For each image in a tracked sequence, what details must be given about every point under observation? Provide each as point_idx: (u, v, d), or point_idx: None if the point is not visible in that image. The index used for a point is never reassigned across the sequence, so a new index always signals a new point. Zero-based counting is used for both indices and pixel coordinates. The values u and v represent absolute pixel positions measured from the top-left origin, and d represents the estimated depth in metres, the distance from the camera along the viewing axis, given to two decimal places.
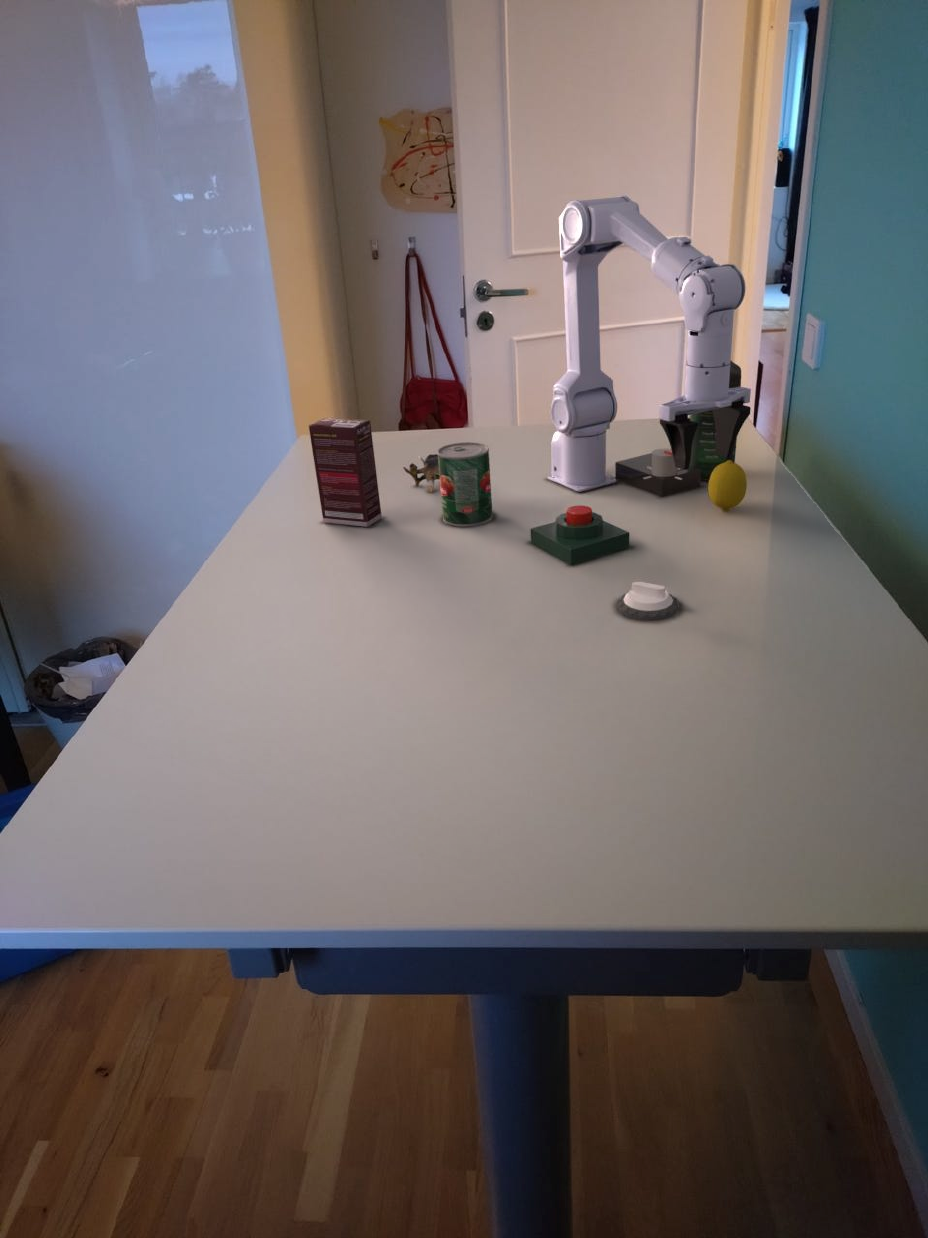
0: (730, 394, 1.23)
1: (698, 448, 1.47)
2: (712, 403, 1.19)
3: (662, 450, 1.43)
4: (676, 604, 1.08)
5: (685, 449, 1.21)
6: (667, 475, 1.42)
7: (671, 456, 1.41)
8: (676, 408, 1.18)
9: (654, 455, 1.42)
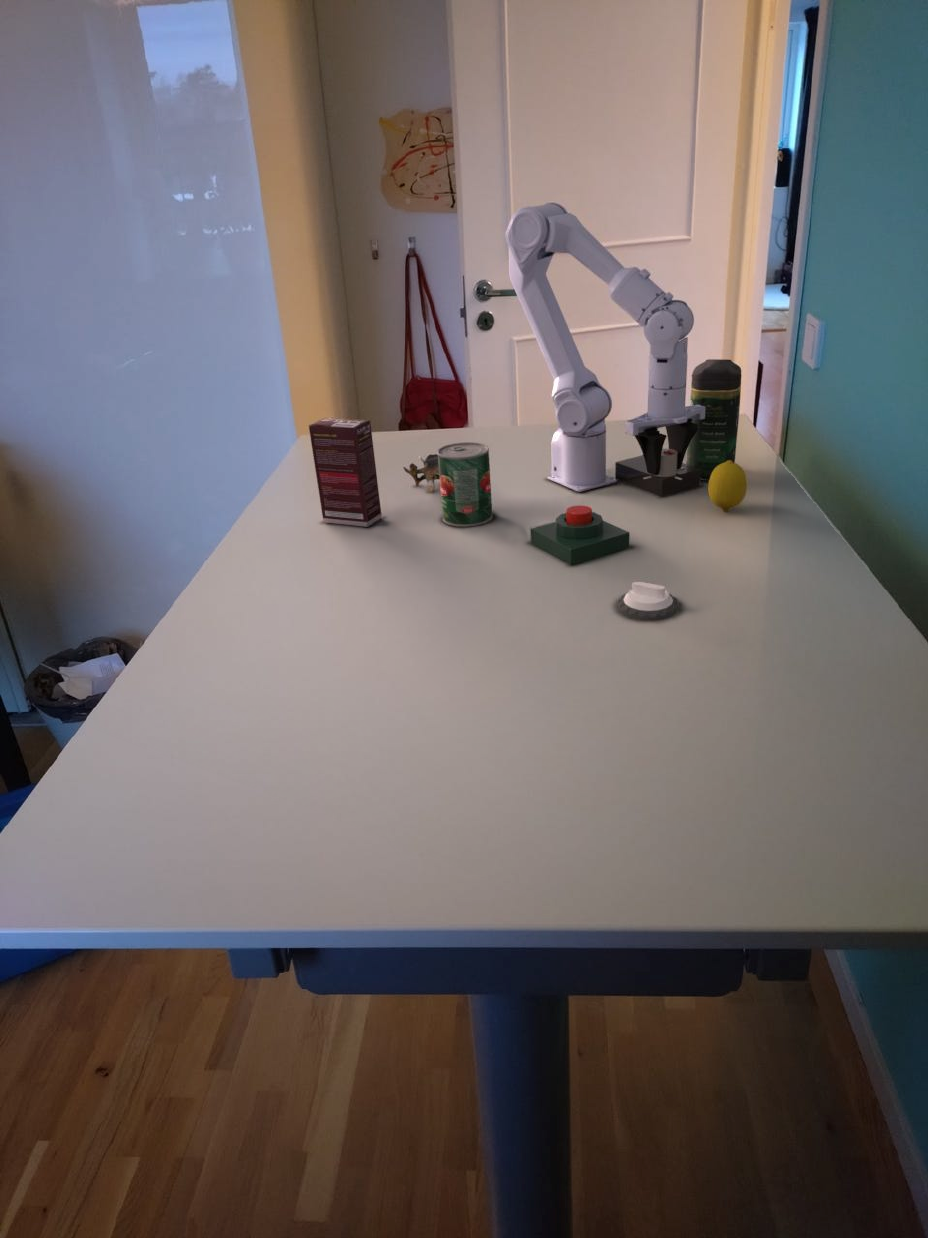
0: (687, 411, 1.41)
1: (698, 448, 1.47)
2: (670, 420, 1.37)
3: (662, 450, 1.43)
4: (676, 604, 1.08)
5: (655, 457, 1.40)
6: (667, 475, 1.42)
7: (671, 456, 1.41)
8: (639, 424, 1.37)
9: None
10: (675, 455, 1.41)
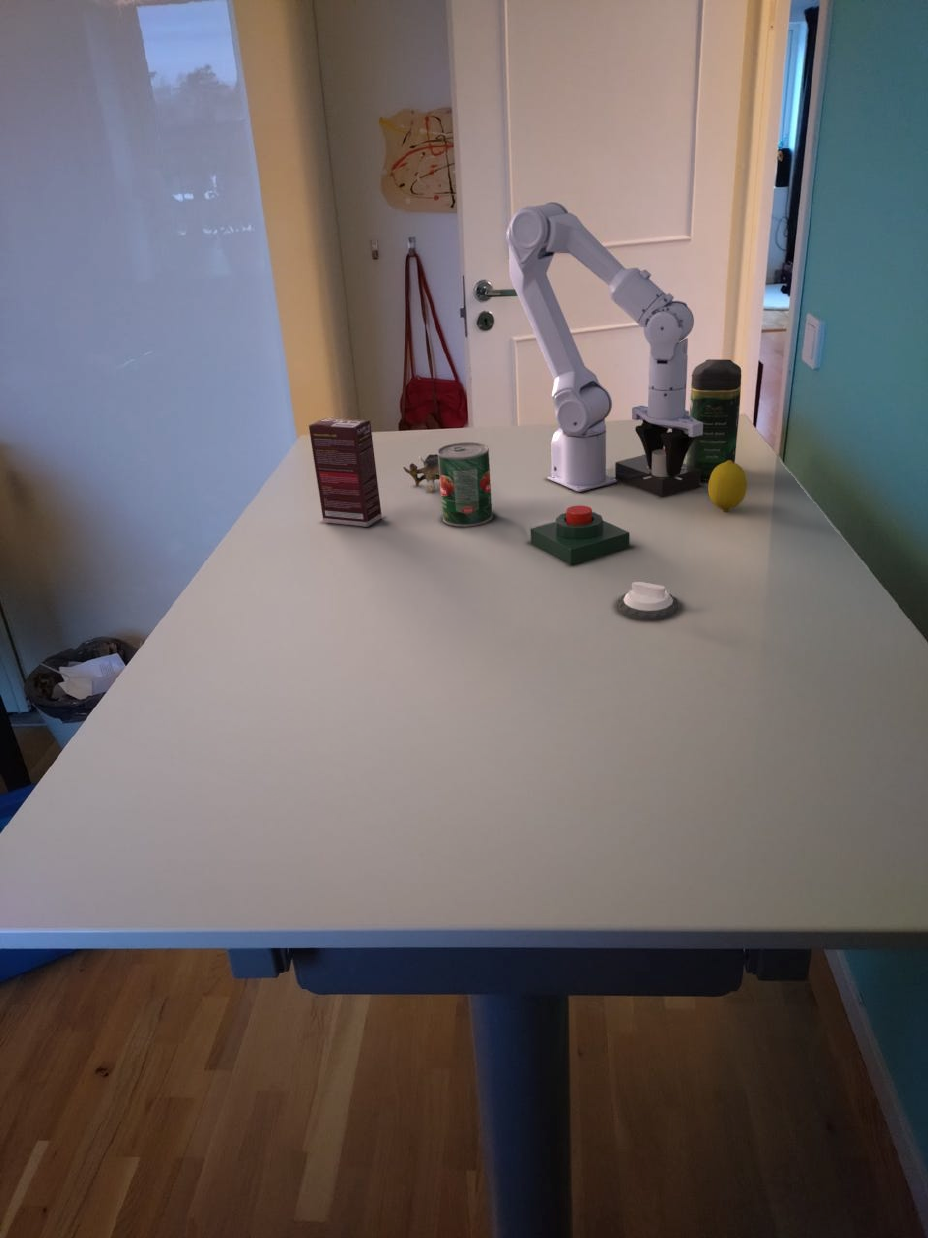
0: None
1: (698, 448, 1.47)
2: None
3: (658, 452, 1.42)
4: (676, 604, 1.08)
5: (685, 455, 1.41)
6: None
7: None
8: None
9: None
10: None
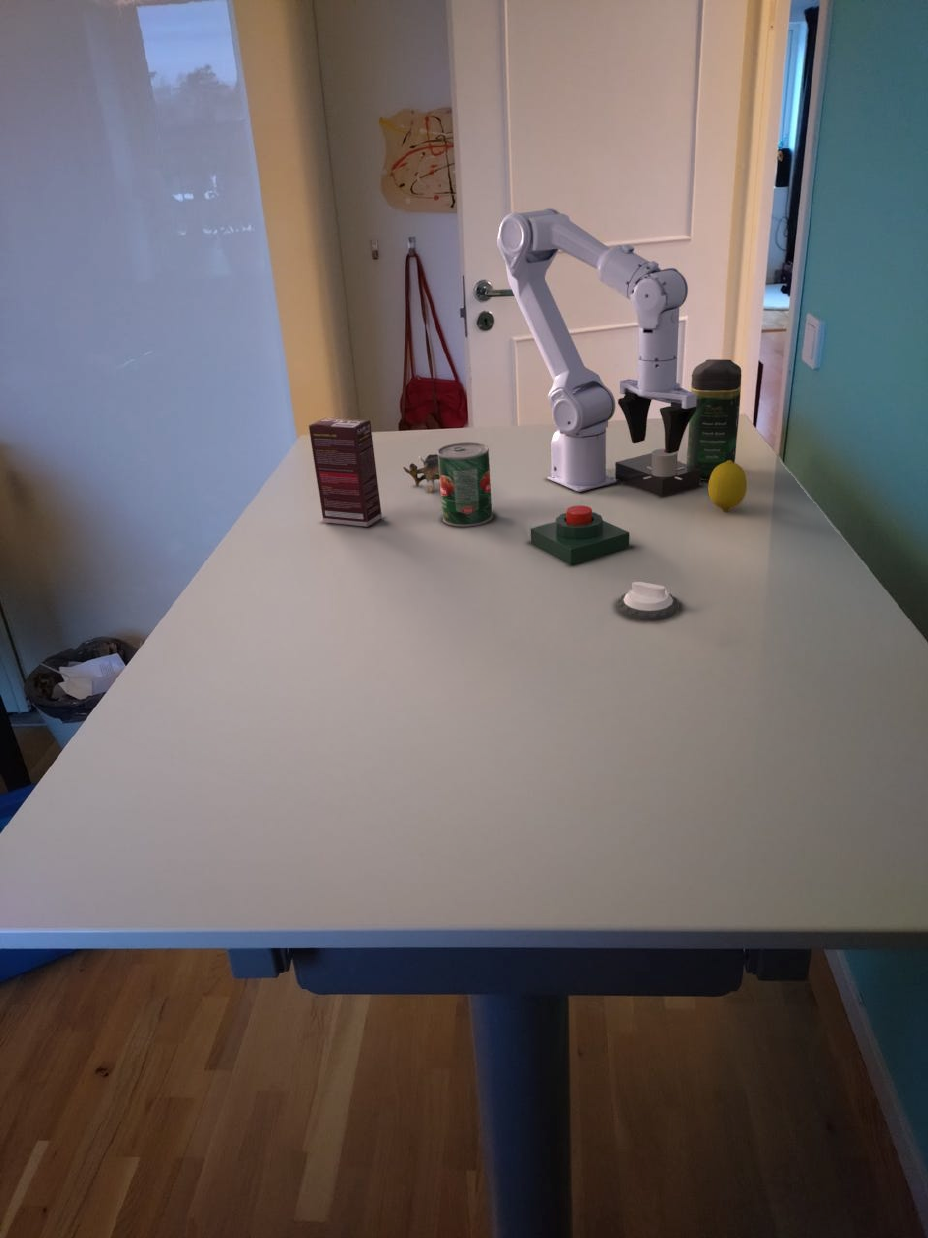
0: None
1: (698, 448, 1.47)
2: None
3: (658, 452, 1.42)
4: (676, 604, 1.08)
5: (684, 430, 1.35)
6: None
7: None
8: None
9: (672, 455, 1.41)
10: None
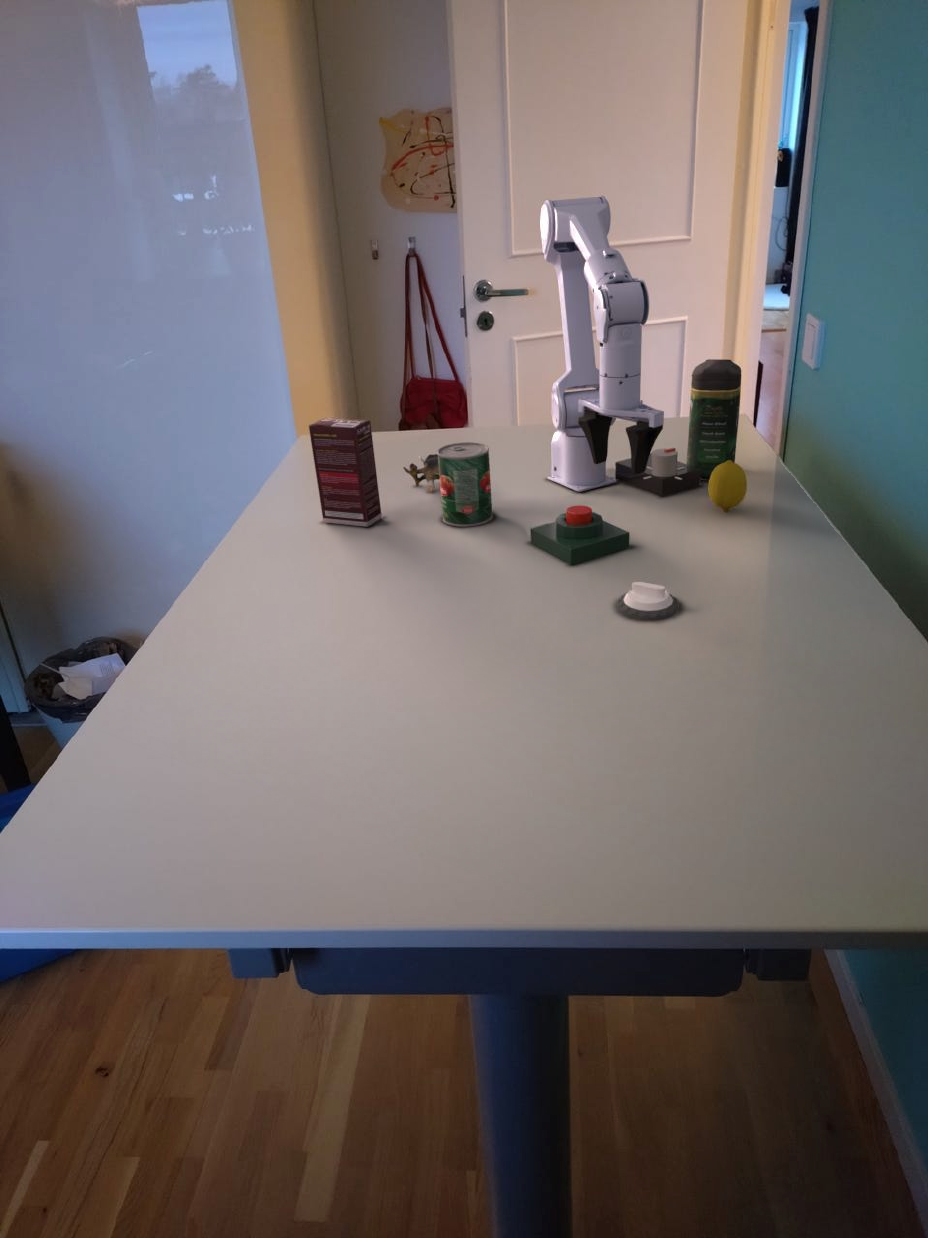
0: (600, 403, 1.31)
1: (698, 448, 1.47)
2: (640, 403, 1.28)
3: (658, 452, 1.42)
4: (676, 604, 1.08)
5: None
6: None
7: (675, 451, 1.43)
8: None
9: (672, 455, 1.41)
10: None
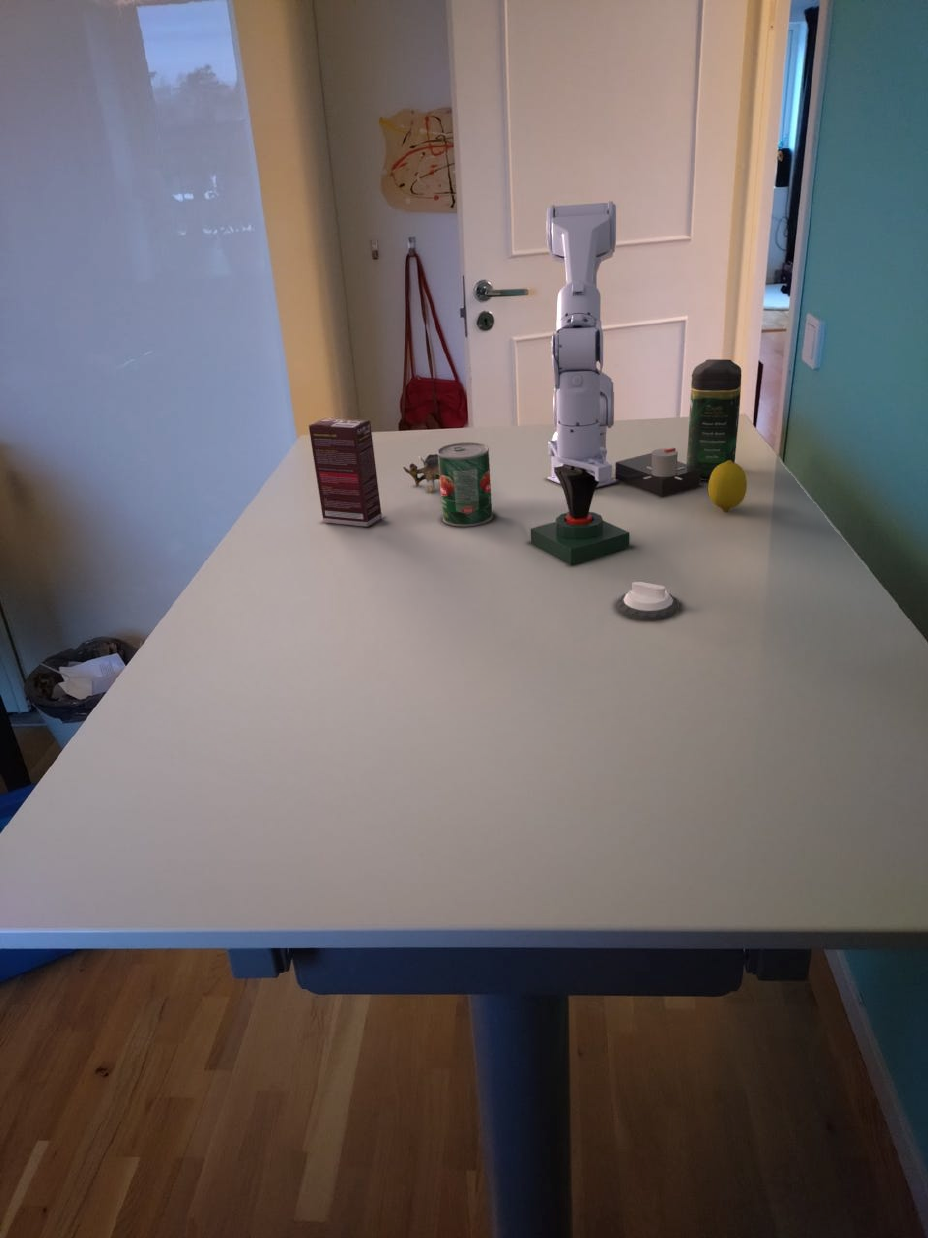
0: None
1: (698, 448, 1.47)
2: (601, 453, 1.21)
3: (658, 452, 1.42)
4: (676, 604, 1.08)
5: (592, 495, 1.24)
6: None
7: (675, 451, 1.43)
8: None
9: (672, 455, 1.41)
10: None
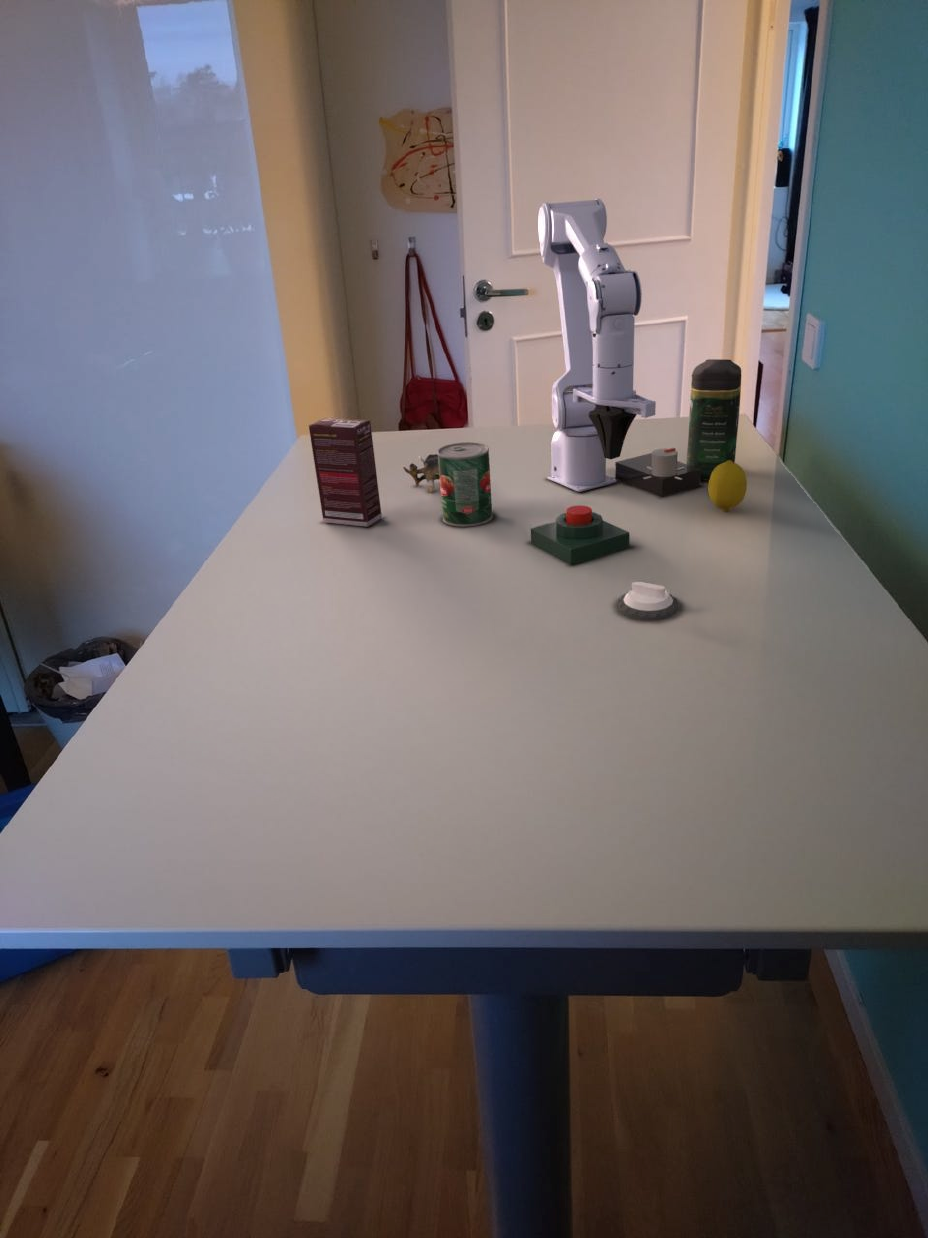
0: None
1: (698, 448, 1.47)
2: (633, 394, 1.29)
3: (658, 452, 1.42)
4: (676, 604, 1.08)
5: (625, 435, 1.31)
6: None
7: (675, 451, 1.43)
8: None
9: (672, 455, 1.41)
10: None
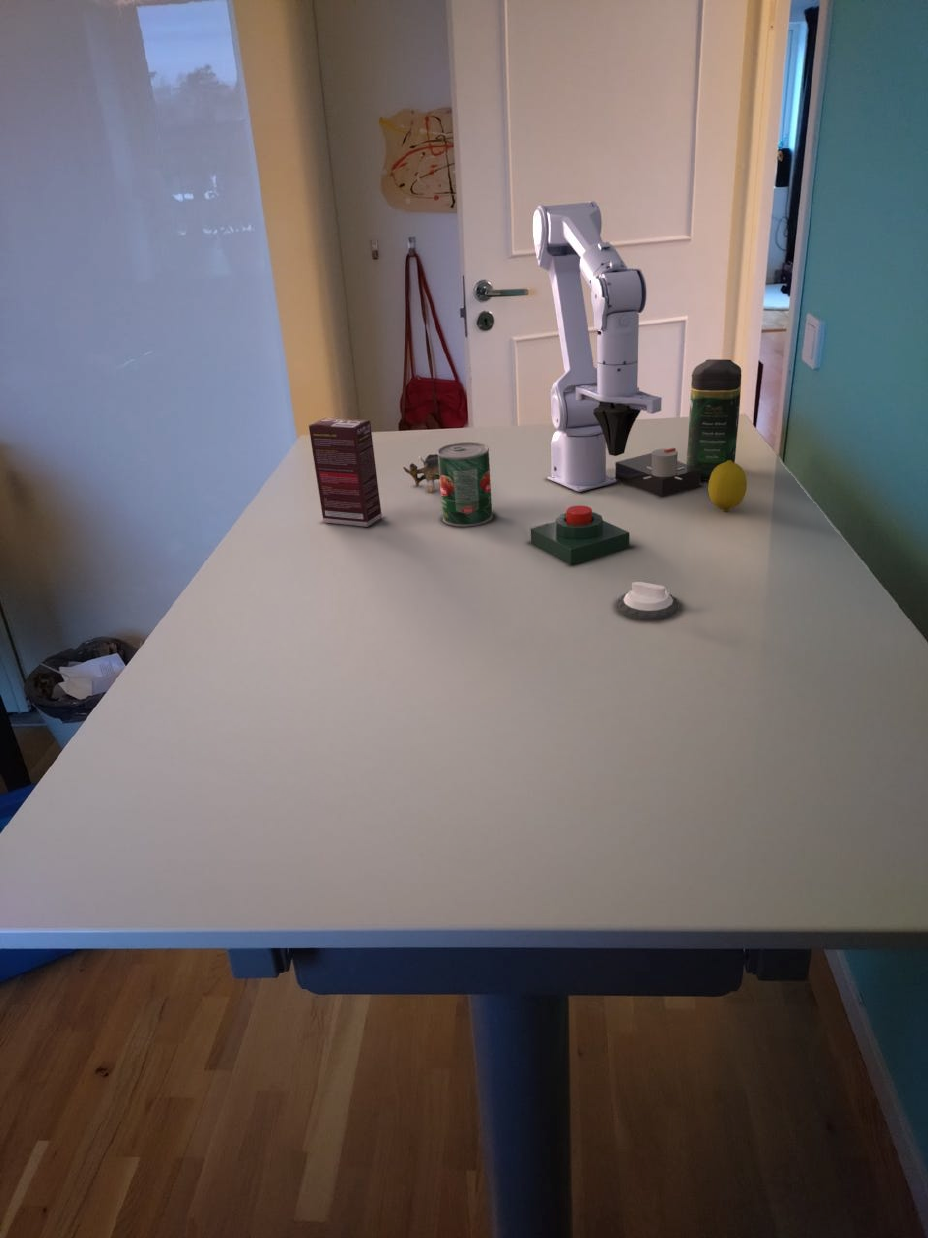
0: (597, 390, 1.33)
1: (698, 448, 1.47)
2: (637, 391, 1.30)
3: (658, 452, 1.42)
4: (676, 604, 1.08)
5: (629, 432, 1.33)
6: None
7: (675, 451, 1.43)
8: None
9: (672, 455, 1.41)
10: None
